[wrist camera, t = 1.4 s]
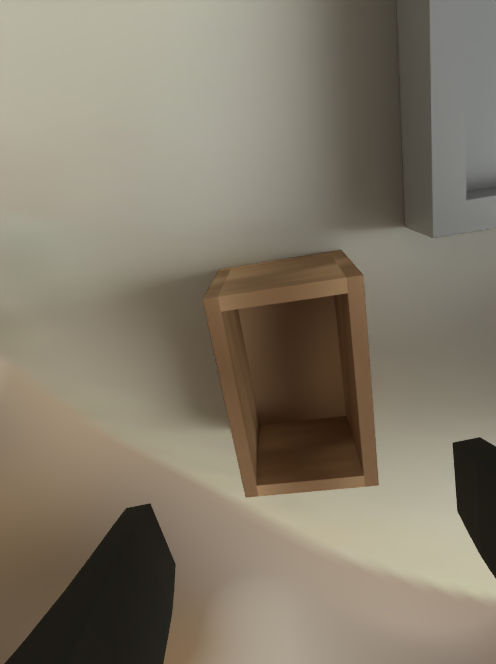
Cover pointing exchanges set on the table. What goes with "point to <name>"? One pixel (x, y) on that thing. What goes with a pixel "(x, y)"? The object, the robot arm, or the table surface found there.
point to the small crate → (295, 373)
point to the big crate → (448, 114)
